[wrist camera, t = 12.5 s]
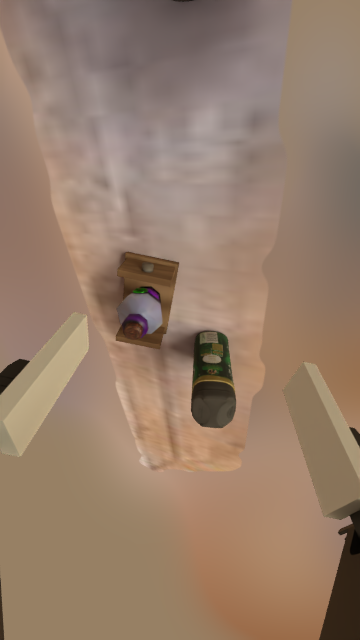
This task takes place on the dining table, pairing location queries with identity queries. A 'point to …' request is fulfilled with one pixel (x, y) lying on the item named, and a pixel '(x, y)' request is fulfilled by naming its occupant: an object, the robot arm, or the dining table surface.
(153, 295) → the potion bottle
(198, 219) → the dining table surface
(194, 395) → the coffee jar
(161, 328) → the holder
